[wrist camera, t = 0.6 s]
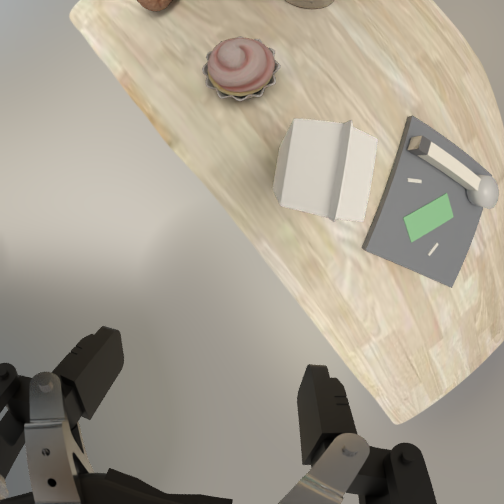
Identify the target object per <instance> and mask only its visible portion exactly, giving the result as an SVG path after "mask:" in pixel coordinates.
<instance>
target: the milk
mask: <svg viewBox="0 0 504 504" xmlns="http://www.w3.org/2000/svg"><path fill="white" fill-rule="evenodd" d="M377 144H378V139H377V138H376V137H374V136H372V135H370V134H368V133H365V132H363V131H361V130H359V129H357V128H355V127H353V122H352V120H349V121H347V122H346V123H339V122H331V121H322V120H312V119H301V118H295V119H294V120H293V121H292V123H291V125H290V127H289V129H288V131H287V133H286V135H285V136H284V138H283V140H282V142H281V144H280V146H279V151H278V158H277V164H276V170H275V176H274V182H273V191H274V193H275V196H276V198H277V200H278V202H279V204H280V206H282V207H286V208H290V209H294V210H298V211H302V212H306V213H310V214H314V215H318V216H322V217H326V218H329V219H330V220H332V221H334V222H335V221H336V219H340V220H349V221H358V222H363V221H364V218H365V214H366V209H367V204H368V199H369V193H370V188H371V182H372V177H373V171H374V164H375V158H376V151H377Z"/></svg>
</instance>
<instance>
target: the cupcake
mask: <svg viewBox="0 0 504 504" xmlns="http://www.w3.org/2000/svg"><path fill="white" fill-rule="evenodd" d="M274 55H275V50H273V49H271V48H268V47H266V46H265V45H264V44H263V43H262V41H261V40H260V39H254V40H253V39H249V38H244V37H241V36H240V37H237V38H232V39H228V40H225V41H221V42H220V43H219V44H218V45H217V46H216V47H215V48H214V49H213V51H210V52H209V53H208V54H207V57H206V58H207V63H206V64H205V65H204V66H203V69H202V70H203V74H205V75H206V76H207V79H206V86H207V87H209V88H212V89H216V91H217V94H218V96H219V97H220V98H226V97H232V98H234V99H236V100H238V101H243V100H245V99H250V98H252V97H261V96H262V95H263V93H264V90H265V88H266V87H269V86H272V85H274V84H276V78H275V75H274V73H276V72H277V71H278V70H279V69H280V67H281V66H280V64H279V63H278V62H277V61H275V60H274Z"/></svg>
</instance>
